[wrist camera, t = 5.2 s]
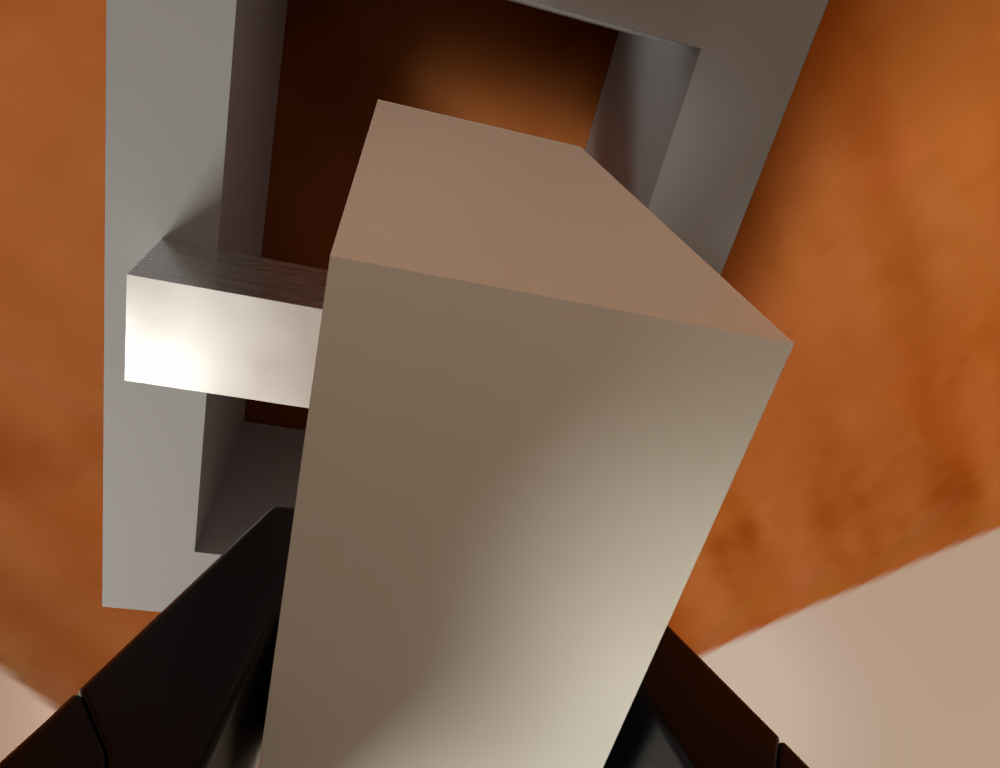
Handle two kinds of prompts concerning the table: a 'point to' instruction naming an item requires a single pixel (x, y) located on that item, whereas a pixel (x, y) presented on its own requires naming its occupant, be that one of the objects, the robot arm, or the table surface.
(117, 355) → the frame
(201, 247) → the cross bar
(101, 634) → the table surface
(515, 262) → the cream block
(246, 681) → the robot arm
